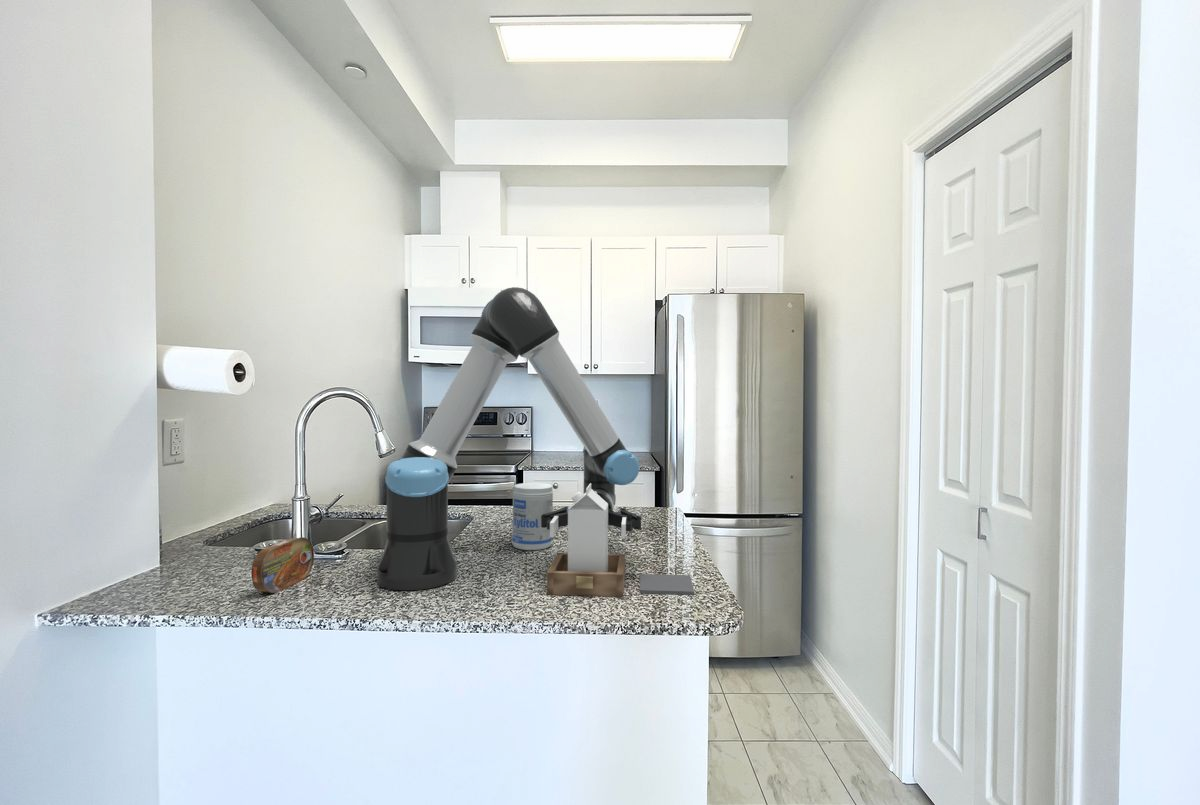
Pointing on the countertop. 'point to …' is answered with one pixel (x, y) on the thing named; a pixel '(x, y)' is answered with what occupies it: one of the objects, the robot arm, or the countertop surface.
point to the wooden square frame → (586, 578)
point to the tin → (282, 565)
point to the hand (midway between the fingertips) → (587, 530)
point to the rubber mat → (666, 584)
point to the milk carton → (588, 533)
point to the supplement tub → (531, 515)
